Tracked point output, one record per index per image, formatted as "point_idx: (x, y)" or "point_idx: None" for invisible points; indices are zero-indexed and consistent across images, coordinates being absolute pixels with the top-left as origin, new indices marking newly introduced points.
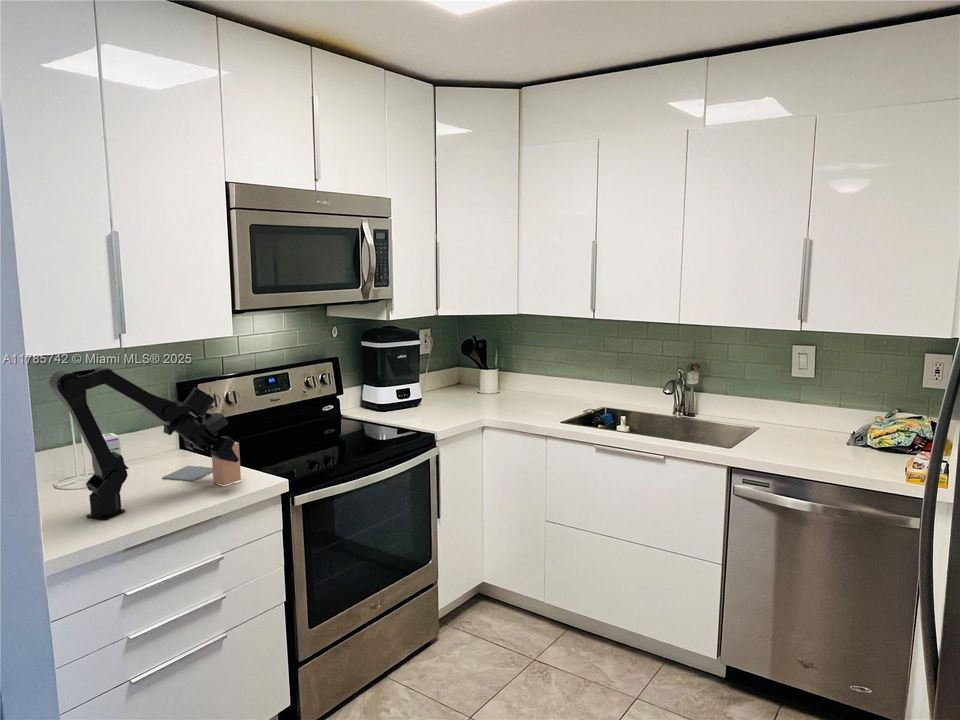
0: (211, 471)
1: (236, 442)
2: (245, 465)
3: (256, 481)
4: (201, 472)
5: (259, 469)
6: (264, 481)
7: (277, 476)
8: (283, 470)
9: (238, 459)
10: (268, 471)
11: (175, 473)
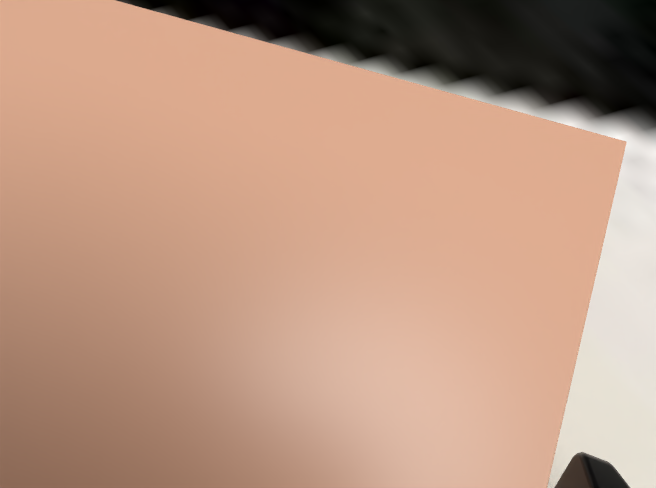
0: None
1: (474, 112)
2: (178, 4)
3: None
4: None
5: (351, 43)
6: (638, 286)
7: (637, 135)
8: (561, 7)
9: (612, 474)
10: (459, 59)
11: None
